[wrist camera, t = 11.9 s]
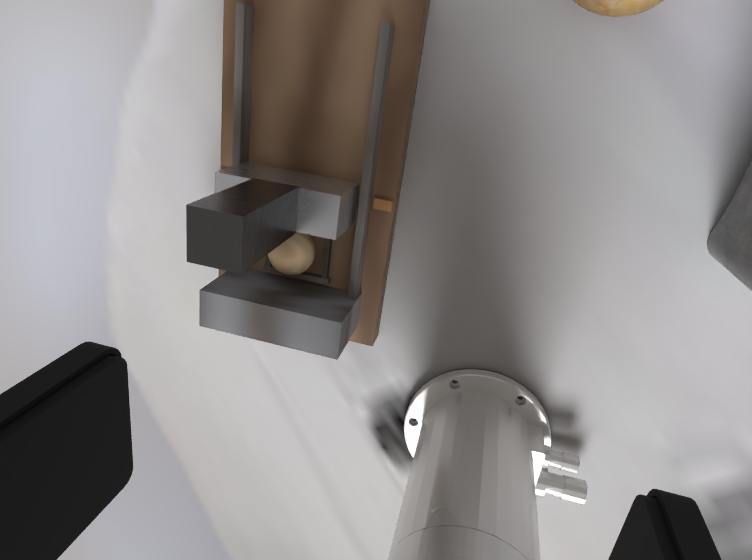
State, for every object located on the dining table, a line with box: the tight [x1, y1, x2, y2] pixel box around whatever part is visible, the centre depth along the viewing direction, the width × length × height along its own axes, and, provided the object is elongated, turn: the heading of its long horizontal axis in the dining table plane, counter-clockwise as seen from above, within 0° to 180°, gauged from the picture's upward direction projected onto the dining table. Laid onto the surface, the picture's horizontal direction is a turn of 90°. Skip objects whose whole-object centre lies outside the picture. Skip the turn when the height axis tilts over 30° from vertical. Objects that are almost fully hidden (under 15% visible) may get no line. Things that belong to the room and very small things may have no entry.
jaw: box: [186, 162, 359, 274], centre depth 33 cm, size 9×3×13 cm, turn 82°
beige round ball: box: [268, 232, 315, 275], centre depth 40 cm, size 4×4×4 cm
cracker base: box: [200, 0, 430, 359], centre depth 38 cm, size 14×26×8 cm, turn 172°
